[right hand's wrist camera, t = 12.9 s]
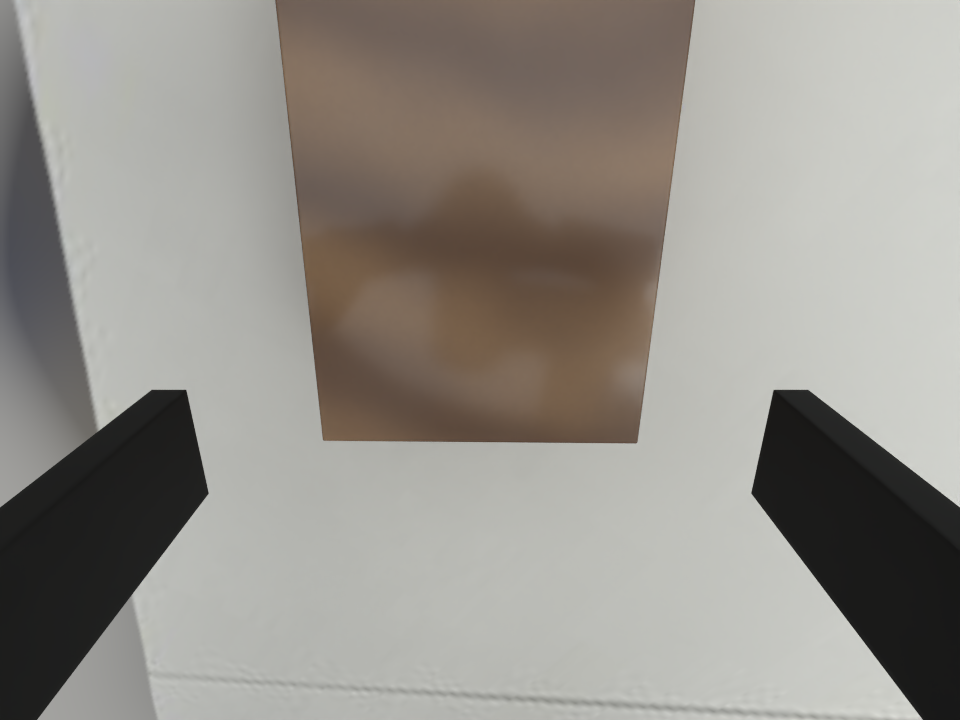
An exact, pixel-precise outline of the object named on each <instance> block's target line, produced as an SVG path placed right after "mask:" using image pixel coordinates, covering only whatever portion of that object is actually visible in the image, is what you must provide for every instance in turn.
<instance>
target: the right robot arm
mask: <svg viewBox="0 0 960 720" xmlns="http://www.w3.org/2000/svg"><path fill="white" fill-rule="evenodd" d="M208 494H209V493H208V488H207V484H206V479H205V474H204V470H203V465H202V461H201V456H200V451H199V447H198V442H197V437H196V433H195V428H194V424H193V419H192V414H191V410H190V405H189V400H188V396H187V391H186V390H151V391H150V392H149V393H147V394H146V395H145V396H143V397H142V398H141V399H140V400H138V401H137V402H136V403H134V404H133V405H132V406H131V407H129V408H128V409H127V410H125V411H124V412H123V413H122V414H120V415H119V416H118V417H116V418H115V419H114V420H113V421H111V422H110V423H109V424H107V425H106V426H105V427H103V428H102V429H101V430H100V431H98V432H97V433H96V434H94V435H93V436H92V437H91V438H89V439H88V440H87V441H85V442H84V443H83V444H82V445H80V446H79V447H78V448H76V449H75V450H74V451H73V452H71V453H70V454H69V455H67V456H66V457H65V458H63V459H62V460H61V461H60V462H58V463H57V464H56V465H55V466H53V467H52V468H51V469H49V470H48V471H47V472H45V473H44V474H43V475H42V476H40V477H39V478H38V479H36V480H35V481H34V482H33V483H31V484H30V485H29V486H27V487H26V488H25V489H23V490H22V491H21V492H20V493H18V494H17V495H16V496H15V497H13V498H12V499H11V500H9V501H8V502H7V503H5V504H4V505H3V506H2V507H0V720H37V719H38V718H39V716H40V715H41V714H42V712H43V711H44V710H45V708H46V707H47V706H48V705H49V703H50V702H51V701H52V699H53V698H54V697H55V695H56V694H57V693H58V691H59V690H60V689H61V687H62V686H63V685H64V683H65V682H66V681H67V679H68V678H69V677H70V676H71V674H72V673H73V672H74V670H75V669H76V668H77V666H78V665H79V664H80V662H81V661H82V660H83V658H84V657H85V656H86V654H87V653H88V652H89V650H90V649H91V648H92V646H93V645H94V644H95V643H96V641H97V640H98V639H99V637H100V636H101V635H102V633H103V632H104V631H105V629H106V628H107V627H108V625H109V624H110V623H111V621H112V620H113V619H114V617H115V616H116V615H117V614H118V612H119V611H120V610H121V608H122V607H123V606H124V604H125V603H126V602H127V600H128V599H129V598H130V596H131V595H132V594H133V592H134V591H135V590H136V589H137V587H138V586H139V585H140V583H141V582H142V581H143V579H144V578H145V577H146V575H147V574H148V573H149V571H150V570H151V569H152V567H153V566H154V565H155V563H156V562H157V561H158V560H159V558H160V557H161V556H162V554H163V553H164V552H165V550H166V549H167V548H168V546H169V545H170V544H171V542H172V541H173V540H174V538H175V537H176V536H177V534H178V533H179V532H180V531H181V529H182V528H183V527H184V525H185V524H186V523H187V521H188V520H189V519H190V517H191V516H192V515H193V513H194V512H195V511H196V509H197V508H198V507H199V505H200V504H201V503H202V502H203V500H204V499H205V498H206V496H207V495H208ZM751 494H752V495H753V496H754V498H755V499H756V500H757V502H758V503H759V504H760V505H761V507H762V508H763V509H764V511H765V512H766V513H767V515H768V516H769V517H770V519H771V520H772V521H773V523H774V524H775V525H776V527H777V528H778V529H779V531H780V532H781V533H782V534H783V536H784V537H785V538H786V540H787V541H788V542H789V544H790V545H791V546H792V548H793V549H794V550H795V552H796V553H797V554H798V556H799V557H800V558H801V560H802V561H803V562H804V563H805V565H806V566H807V567H808V569H809V570H810V571H811V573H812V574H813V575H814V577H815V578H816V579H817V581H818V582H819V583H820V585H821V586H822V587H823V589H824V590H825V591H826V592H827V594H828V595H829V596H830V598H831V599H832V600H833V602H834V603H835V604H836V606H837V607H838V608H839V610H840V611H841V612H842V614H843V615H844V616H845V618H846V619H847V620H848V621H849V623H850V624H851V625H852V627H853V628H854V629H855V631H856V632H857V633H858V635H859V636H860V637H861V639H862V640H863V641H864V643H865V644H866V645H867V647H868V648H869V649H870V650H871V652H872V653H873V654H874V656H875V657H876V658H877V660H878V661H879V662H880V664H881V665H882V666H883V668H884V669H885V670H886V672H887V673H888V674H889V676H890V677H891V678H892V679H893V681H894V682H895V683H896V685H897V686H898V687H899V689H900V690H901V691H902V693H903V694H904V695H905V697H906V698H907V699H908V701H909V702H910V703H911V705H912V706H913V707H914V708H915V710H916V711H917V712H918V714H919V715H920V716H921V718H922V719H923V720H960V507H958V506H957V505H956V504H955V503H953V502H952V501H951V500H949V499H948V498H947V497H946V496H944V495H943V494H942V493H940V492H939V491H938V490H937V489H935V488H934V487H933V486H931V485H930V484H929V483H927V482H926V481H925V480H924V479H922V478H921V477H920V476H918V475H917V474H916V473H915V472H913V471H912V470H911V469H909V468H908V467H907V466H906V465H904V464H903V463H902V462H900V461H899V460H898V459H897V458H895V457H894V456H893V455H891V454H890V453H889V452H887V451H886V450H885V449H884V448H882V447H881V446H880V445H878V444H877V443H876V442H875V441H873V440H872V439H871V438H869V437H868V436H867V435H866V434H864V433H863V432H862V431H860V430H859V429H858V428H857V427H855V426H854V425H853V424H851V423H850V422H849V421H847V420H846V419H845V418H844V417H842V416H841V415H840V414H838V413H837V412H836V411H835V410H833V409H832V408H831V407H829V406H828V405H827V404H826V403H824V402H823V401H822V400H820V399H819V398H818V397H817V396H815V395H814V394H813V393H811V392H810V391H809V390H774V391H773V396H772V400H771V405H770V410H769V414H768V419H767V424H766V428H765V433H764V437H763V442H762V447H761V451H760V456H759V461H758V465H757V470H756V474H755V479H754V484H753V488H752V493H751Z"/></svg>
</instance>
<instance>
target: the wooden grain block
mask: <svg viewBox="0 0 960 720" xmlns="http://www.w3.org/2000/svg"><path fill="white" fill-rule="evenodd" d="M275 1H276V10H277V19H278V28H279V38H280V47H281V56H282V65H283V75H284V84H285V93H286V102H287V111H288V121H289V130H290V139H291V148H292V158H293V167H294V176H295V185H296V195H297V204H298V213H299V222H300V232H301V241H302V250H303V259H304V268H305V278H306V287H307V296H308V305H309V315H310V324H311V333H312V342H313V352H314V361H315V370H316V379H317V389H318V398H319V407H320V416H321V425H322V435H323V440H324V441H429V442H547V443H637V441H638V433H639V425H640V418H641V410H642V403H643V395H644V387H645V380H646V372H647V364H648V357H649V349H650V342H651V334H652V326H653V319H654V311H655V303H656V296H657V288H658V281H659V273H660V265H661V258H662V250H663V242H664V235H665V227H666V220H667V212H668V204H669V197H670V189H671V181H672V174H673V166H674V159H675V151H676V143H677V136H678V128H679V120H680V113H681V105H682V98H683V90H684V82H685V75H686V67H687V59H688V52H689V44H690V37H691V29H692V21H693V14H694V6H695V0H275Z"/></svg>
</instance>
